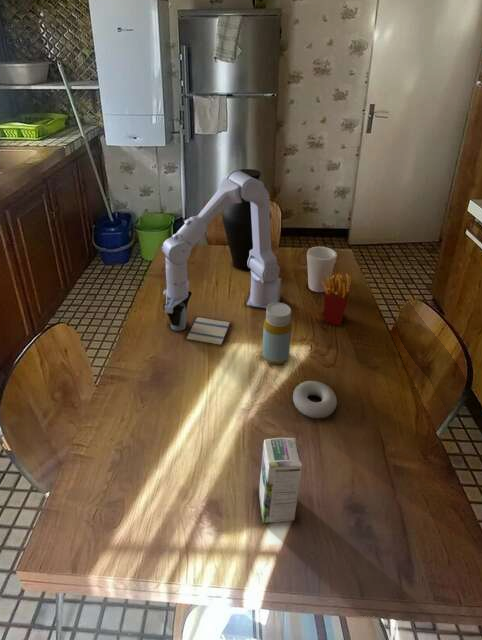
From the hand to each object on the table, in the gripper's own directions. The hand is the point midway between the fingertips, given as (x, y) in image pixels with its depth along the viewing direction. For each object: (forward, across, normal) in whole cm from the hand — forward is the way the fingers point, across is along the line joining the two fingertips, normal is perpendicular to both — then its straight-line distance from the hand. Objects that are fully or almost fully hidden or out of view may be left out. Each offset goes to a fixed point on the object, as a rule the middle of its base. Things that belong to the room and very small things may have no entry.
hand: (178, 319), depth 125 cm
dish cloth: (+2, 0, +9) cm, 9 cm away
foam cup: (+2, -32, +38) cm, 50 cm away
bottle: (+2, +6, +29) cm, 30 cm away
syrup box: (+2, +46, +35) cm, 58 cm away
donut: (+2, +20, +40) cm, 45 cm away
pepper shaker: (+2, 0, 0) cm, 2 cm away
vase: (+2, -41, +11) cm, 43 cm away
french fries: (+2, -16, +43) cm, 46 cm away
